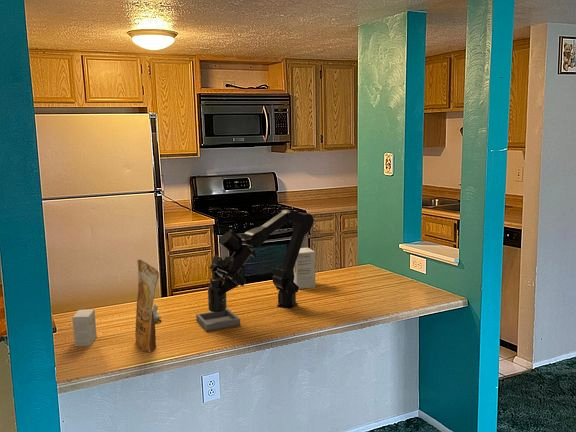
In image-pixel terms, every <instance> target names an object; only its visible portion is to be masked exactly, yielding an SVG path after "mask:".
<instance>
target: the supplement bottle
mask: <svg viewBox="0 0 576 432" xmlns="http://www.w3.org/2000/svg"><path fill="white" fill-rule="evenodd" d="M223 279H224V278H221V277H213V276H212V277H211V278H210V279H209V281H210V282H209V284H210V285H208V286H207V303H208V305H207V306H208V310H209V312H222V311H225V310H226V309H228V305H227V292H226V293H224V294H222V295H221V296H218V295H217V294H218V292H219V290H220V288H221V287H222V285H223V283H224V282H223Z"/></svg>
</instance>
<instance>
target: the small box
mask: <svg viewBox="0 0 576 432" xmlns="http://www.w3.org/2000/svg"><path fill="white" fill-rule="evenodd" d="M72 329H73V330H72V331H73V341H74V346H75V347H88V346H89V347H90V346H92V344H93V343H94V341H95V340H96V339H97V337H98V335H97V323H96V310H95V309H94V308H93V309H78V310H77V311H76V312H75V314H74V315H73V316H72Z"/></svg>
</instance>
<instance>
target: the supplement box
mask: <svg viewBox="0 0 576 432" xmlns="http://www.w3.org/2000/svg"><path fill="white" fill-rule="evenodd" d="M294 283H295V284H296V285H297V286H298V287H299V289H298V290H302V289H312V288H316V251H314V250H313V249H311V248H310V247H301V248H300V251H299V254H298V257H297V260H296V263H295V266H294Z"/></svg>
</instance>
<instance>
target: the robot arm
mask: <svg viewBox="0 0 576 432" xmlns="http://www.w3.org/2000/svg"><path fill="white" fill-rule="evenodd" d="M288 222H292V223H291V226H292V235H291V238H290V241H289V242H288V243H289V244H288V246H287V249H286V253H285V255H284V258H283V261H282V265H281V266H279V268H278V267H275V269H274V272H273V275H272V283H273V285H274V287H275V289H276V290H277V291H278V293H277V305H276V307H280V308H287V309H293V308H294V307H295V306H297V305H298V303H299V302H297V297H296V296H297V293H298V291H299V290H300V289H299V287H298V286H297V285H296V284H295V283H294V266H295V263H296V260H297V257H298V254H299V251H300V248H302V245H303V242H304V239H305V236H306V235H307V234H308V233H309V232H310V231H311V229H312V228H313V225H314V222H315V219H314V216H313V215H312V214H311V213H307V212H300V211H299V212H296V211H293V210H290V209H286V208H285V209H283V210H282V211H281V212H280V213H278V214H277V215H275V216H274V217H272V218H271V219H269V220H268V221H266V222H265V223H264V224H262V225H260V226H257V227H254V228H251V229H249V230H247V231H245V232H244V233H243V234H242V235H238V234H237V232H236V231H235V230H233V229H229V231H227V232H225V233H224V234H223V235H221V236H220V238H219V241H218V242H219V244H220V245H221V246H223V247H224V248H225V249H226V250H227V251H228V252H230V253H232V255H231V256H226V255H223V257H222V256H218V255H215V254H214V255H213V258H212V259H211V260H212V261H211V264H210V266H209V268H208V269H209V270H210V271H211V274H212V278H213V277H221V278H223V285H222V287H221V288H220V290H219V292H218V294H217V295H218V296H221V295H222V294H224V293H226V294H227V293H228V292H229V291H231V290H233V289H236V288H238V287H239V286H240V287H244V286H245V284H246V282H247V281H246V278H245V277H244V276H243V275H242V274H240V273H239V272H240V271H241V269H242V270H244V269H245V266H244V265H245V264H246V262H247V261H248V260H249V258H250V257H253V258H255V257H257V254H256V250H255V249H256V248H260V247H261V246H262V245H263V244H264V243H265V242H266V240H267V238H268V237H269V236H270V235H271V234H273V233H274V232H275V231H277V230H278V229H280V228H282V226H284V225H286V224H287V223H288ZM244 244H245V245H244ZM250 247H253V248H255V249H253V248H250Z"/></svg>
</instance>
